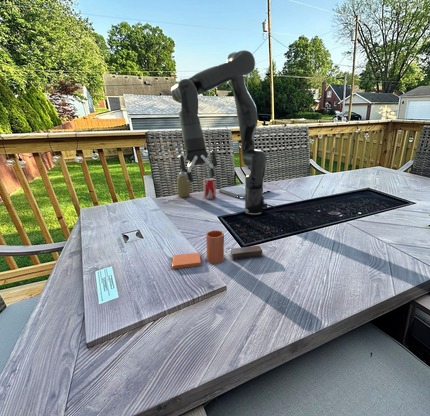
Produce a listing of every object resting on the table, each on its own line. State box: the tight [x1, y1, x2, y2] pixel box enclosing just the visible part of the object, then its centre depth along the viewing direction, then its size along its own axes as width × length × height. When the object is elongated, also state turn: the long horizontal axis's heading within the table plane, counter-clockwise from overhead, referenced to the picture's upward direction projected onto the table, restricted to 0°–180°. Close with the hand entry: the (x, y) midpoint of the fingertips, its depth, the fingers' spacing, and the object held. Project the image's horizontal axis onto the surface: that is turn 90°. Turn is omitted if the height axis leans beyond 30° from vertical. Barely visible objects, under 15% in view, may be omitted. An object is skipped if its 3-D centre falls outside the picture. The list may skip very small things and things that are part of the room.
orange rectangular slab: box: [172, 252, 202, 270], centre depth 91 cm, size 9×7×1 cm
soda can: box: [203, 177, 217, 200], centre depth 159 cm, size 7×7×12 cm
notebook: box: [219, 183, 245, 200], centre depth 177 cm, size 22×2×28 cm
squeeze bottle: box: [176, 171, 192, 198], centre depth 158 cm, size 8×8×18 cm
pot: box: [205, 229, 225, 265], centre depth 92 cm, size 6×6×10 cm
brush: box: [230, 245, 263, 261], centre depth 96 cm, size 11×4×3 cm, turn 108°
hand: (202, 179), depth 103 cm, fingers open, 8 cm apart
